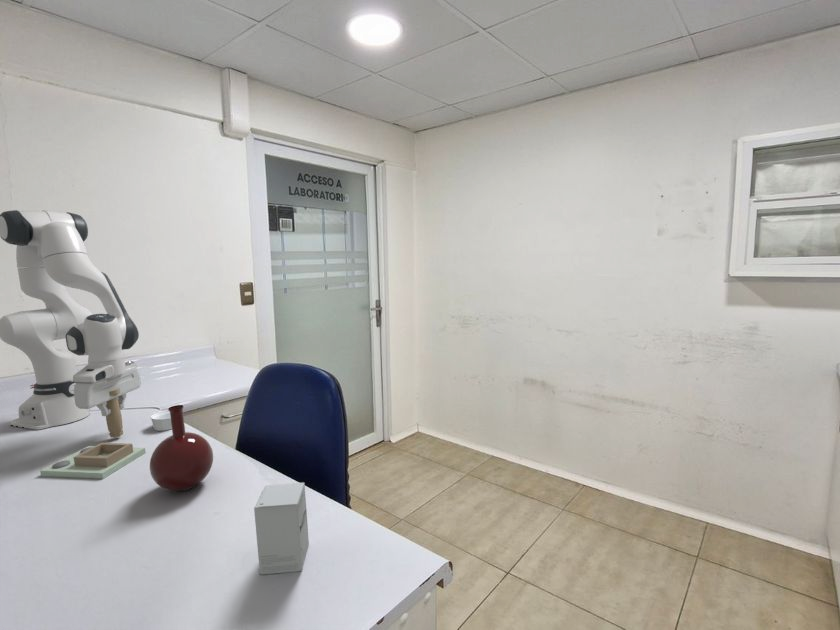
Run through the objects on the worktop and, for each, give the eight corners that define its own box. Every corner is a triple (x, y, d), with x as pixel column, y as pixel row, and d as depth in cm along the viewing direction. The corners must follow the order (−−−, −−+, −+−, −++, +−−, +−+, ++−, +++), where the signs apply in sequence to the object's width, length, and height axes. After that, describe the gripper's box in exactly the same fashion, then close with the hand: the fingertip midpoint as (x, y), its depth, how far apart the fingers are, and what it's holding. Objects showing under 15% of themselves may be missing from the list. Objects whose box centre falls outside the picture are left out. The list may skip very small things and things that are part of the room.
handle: (107, 441, 127) (100, 393, 125) (106, 435, 132) (99, 388, 130) (127, 436, 130) (120, 389, 128) (125, 430, 135) (118, 385, 133)
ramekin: (182, 419, 146) (180, 407, 145) (184, 427, 139) (183, 414, 138) (151, 425, 141) (149, 413, 140) (152, 434, 134) (151, 421, 133)
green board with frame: (40, 476, 109) (38, 461, 109) (89, 450, 123) (87, 437, 123) (103, 478, 107) (101, 463, 107) (145, 452, 121) (143, 439, 120)
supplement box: (302, 572, 73) (297, 504, 72) (258, 575, 73) (252, 507, 71) (310, 543, 81) (305, 481, 79) (270, 546, 80) (264, 484, 78)
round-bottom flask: (150, 509, 93) (139, 422, 90) (155, 482, 105) (145, 404, 102) (217, 492, 99) (207, 410, 96) (214, 468, 111) (206, 394, 108)
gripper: (126, 358, 138) (131, 399, 140) (66, 378, 118) (73, 425, 120) (143, 359, 137) (148, 400, 140) (87, 378, 117) (93, 426, 120)
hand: (113, 412), depth 130 cm, fingers closed on handle, 3 cm apart
